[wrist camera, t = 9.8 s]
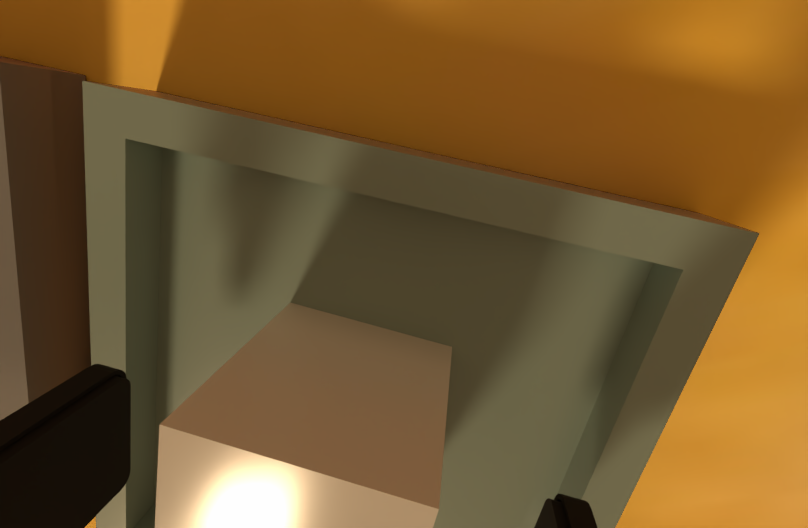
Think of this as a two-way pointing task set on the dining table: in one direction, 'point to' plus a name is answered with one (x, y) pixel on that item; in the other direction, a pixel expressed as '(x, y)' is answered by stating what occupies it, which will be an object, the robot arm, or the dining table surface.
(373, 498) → the beige block
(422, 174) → the bin
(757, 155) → the dining table surface
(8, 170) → the bin
